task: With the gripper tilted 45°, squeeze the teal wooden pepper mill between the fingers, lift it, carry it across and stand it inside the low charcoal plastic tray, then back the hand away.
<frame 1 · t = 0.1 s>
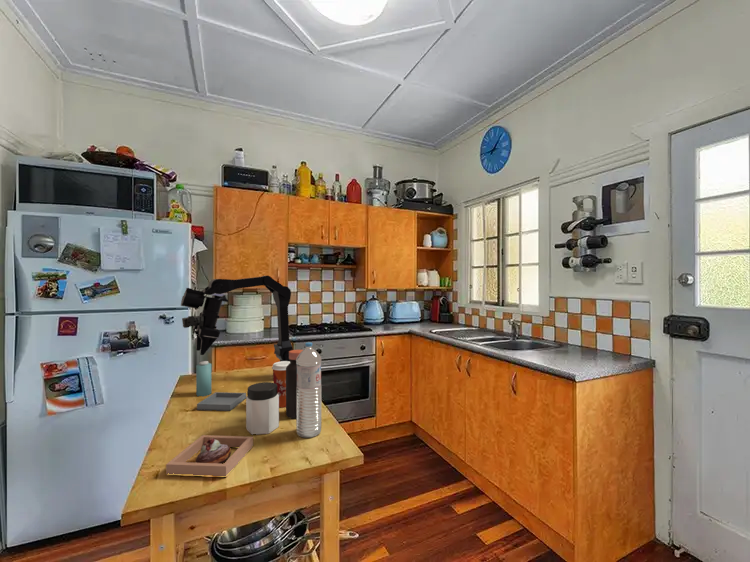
hand: (199, 352, 122), 15 cm above the table, tool pointing down, fingers open, 9 cm apart
jar: (262, 428, 95), on the table
vinegar: (297, 415, 104), on the table
pastry plate: (213, 459, 78), on the table
pastry: (213, 461, 78), resting in pastry plate
paper cup: (283, 405, 113), on the table
pepper mill: (204, 394, 123), on the table
tray: (222, 404, 113), on the table
water bottle: (309, 433, 92), on the table
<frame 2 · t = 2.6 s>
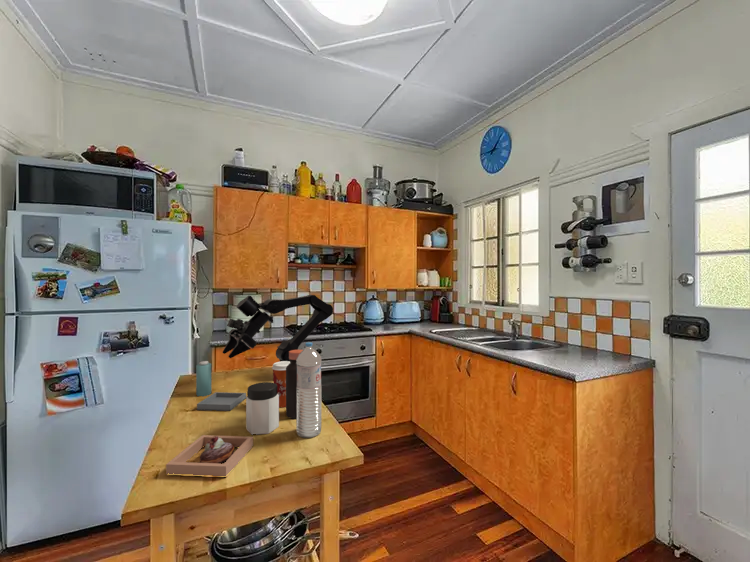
hand: (226, 355, 127), 13 cm above the table, tool tilted 45°, fingers open, 9 cm apart
pastry: (217, 459, 79), resting in pastry plate
everything else where it was.
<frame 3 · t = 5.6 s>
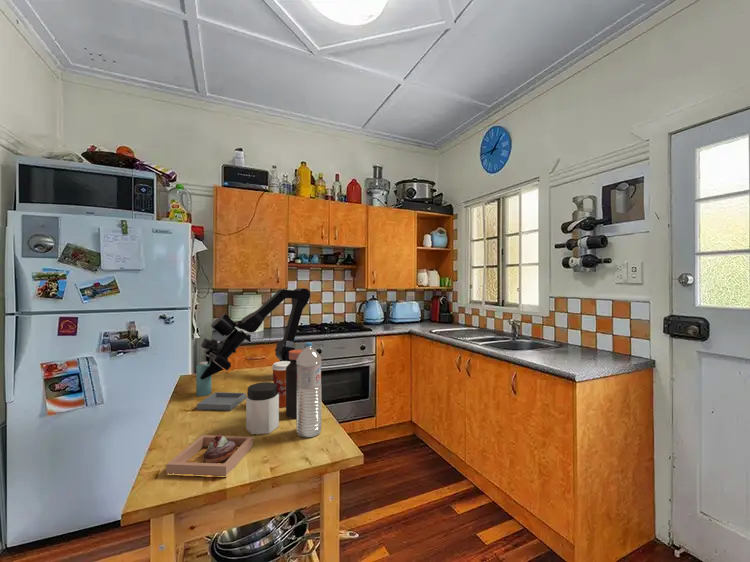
hand: (199, 377, 122), 7 cm above the table, tool tilted 45°, fingers closed on pepper mill, 5 cm apart
pepper mill: (203, 394, 123), on the table, touching gripper
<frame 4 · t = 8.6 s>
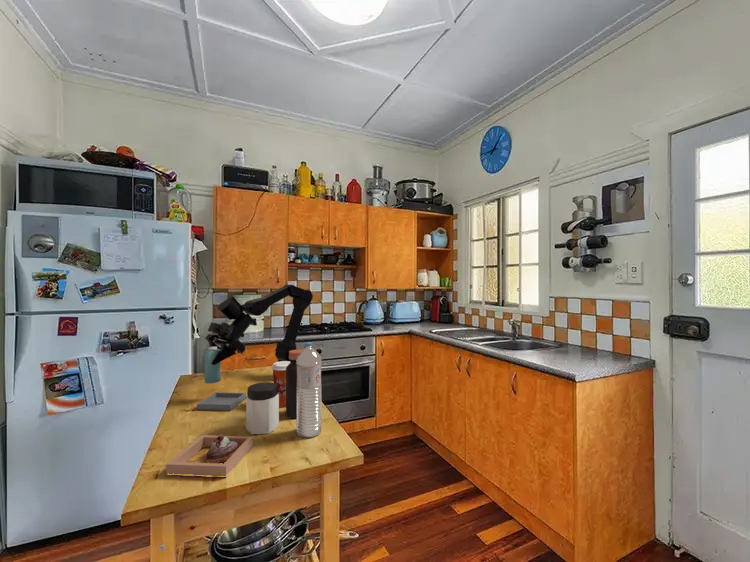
hand: (208, 363, 115), 13 cm above the table, tool tilted 45°, fingers closed on pepper mill, 5 cm apart
pepper mill: (212, 381, 116), point 7 cm above the table, touching gripper
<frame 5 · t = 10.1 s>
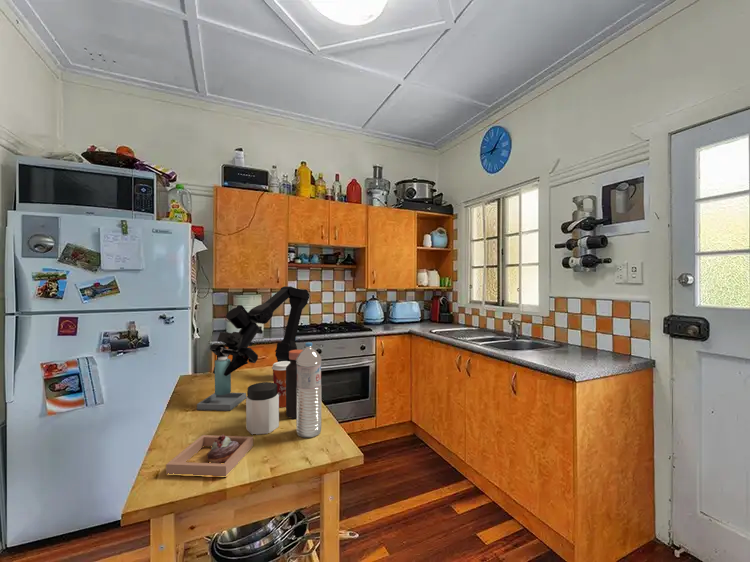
hand: (219, 374, 112), 10 cm above the table, tool tilted 45°, fingers closed on pepper mill, 5 cm apart
pepper mill: (222, 392, 113), point 4 cm above the table, touching gripper
when the fingers open (8 cm above the table, at t = 11.4 s): pepper mill stays where it is, resting on tray.
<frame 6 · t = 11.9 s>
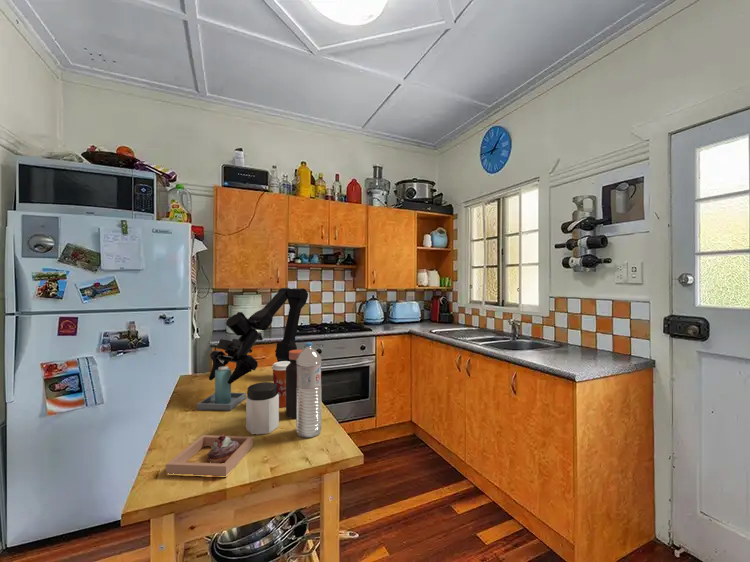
hand: (219, 381, 112), 8 cm above the table, tool tilted 45°, fingers open, 9 cm apart
pepper mill: (222, 402, 113), point 1 cm above the table, touching tray
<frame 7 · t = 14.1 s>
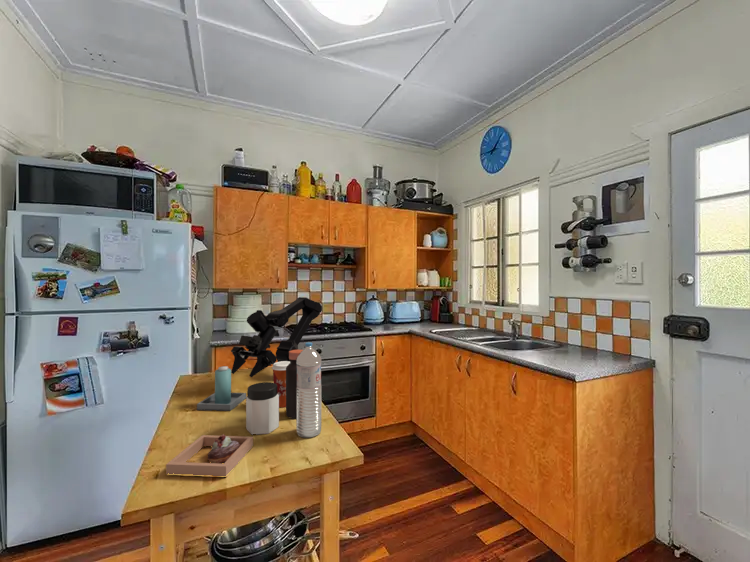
hand: (241, 374, 120), 8 cm above the table, tool tilted 45°, fingers open, 9 cm apart
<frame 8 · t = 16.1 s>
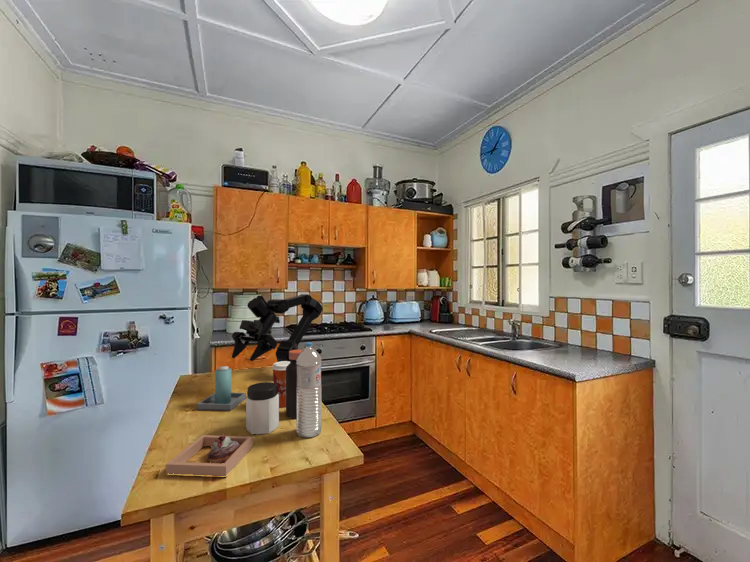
hand: (241, 359, 120), 14 cm above the table, tool tilted 45°, fingers open, 9 cm apart
at the end: pepper mill 0.1 cm off-centre on the tray, point 0.5 cm above the tray's base; pepper mill tilted 1°; the gripper is holding nothing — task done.
